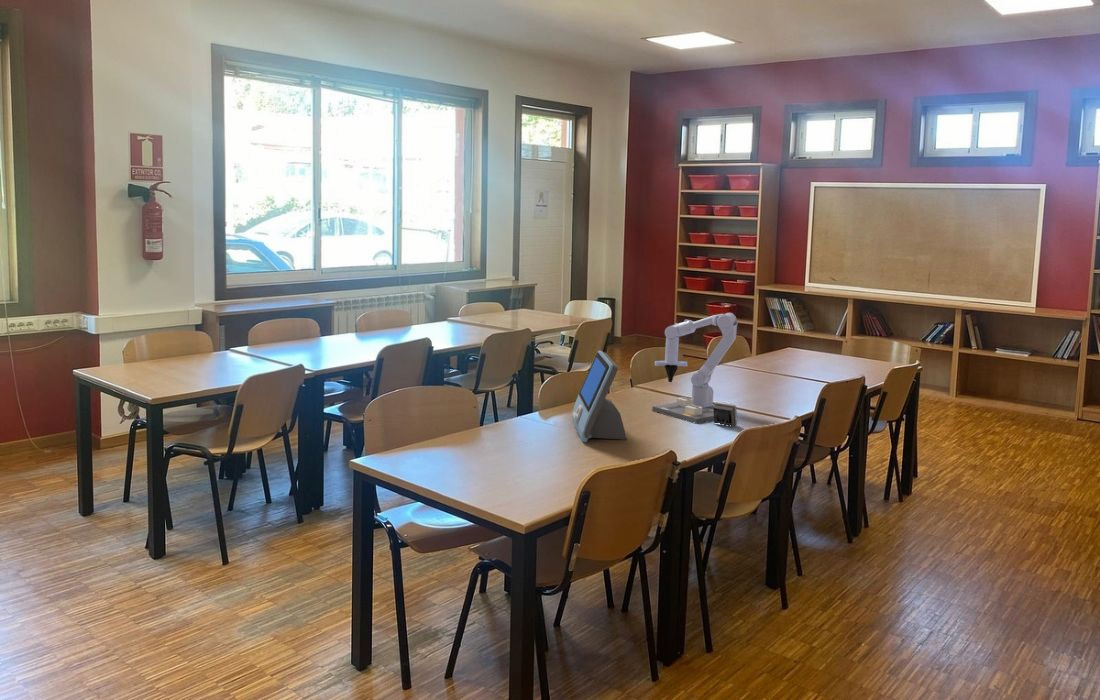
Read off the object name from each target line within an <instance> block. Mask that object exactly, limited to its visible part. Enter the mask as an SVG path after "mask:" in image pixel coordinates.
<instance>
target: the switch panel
mask: <svg viewBox="0 0 1100 700" xmlns="http://www.w3.org/2000/svg"><path fill="white" fill-rule="evenodd" d="M699 407H700V406H699ZM652 410H653V411H652V412H655V411H656V413H658V412H659V414H662V413H663V414H662V415H665V414H666V416H669V415H670V416H669V417H672V416H673V417H672V418H676V417H677V418H676V419H679V418H680V419H679V420H682V419H684V420H683V421H686V420H687V422H689V421H691V422H690V423H693V422H695V423H694V424H696V423H697V424H700V423H699V422H702V423H705V422H704V421H708V422H711V421H710V420H713V421H714V412H713V409H710V408H709V407H705V408H704V407H702V414H701V415H695V416H693V415H689V414H685V407H682V406H678V405H677V402H672V403H666V404H658V405H652Z"/></svg>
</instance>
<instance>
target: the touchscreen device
mask: <svg viewBox="0 0 1100 700" xmlns="http://www.w3.org/2000/svg"><path fill="white" fill-rule="evenodd" d="M618 369H619V367H618V365H617V364H616V363H615V362H614V361H613V359H612V358H611V357H610V356H609V355H608V353H606V352H604V351H602V350H598V351H597V353H596V354H595V357H594V359H593V362H592V363H591V365H590V367H589V370H588V372H587V374H586V377H585V379H584V381H583V384H582V386H581V387H580V391H579V392H578V395H577V398H576V400H575V403H574V406H573V410H572V411H571V413H572V421H573V424H574V427H575V428H576V431H577V434H578V436H579V438H580V440H581V441H582V443H585V444H587V442H588V440H589V439H606V440H608V439H609V440H610V439H611V440H624V441H625V440H628V438H627V434H626V429H625V426H624V424H623V423H624V422H623V420H622V419H623V418H622V416H621V415H622V414H621V413H620V411H619V410H618V408H617V407H616V405H615V404H614V403H613V402H612V400H611V399H609V398H607V395H608V393H609V391H610V389H611V386H612V384H613V382H614V380H615V377H616V375H617V373H618Z"/></svg>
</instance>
